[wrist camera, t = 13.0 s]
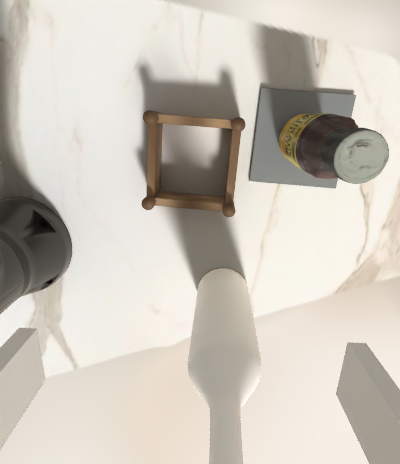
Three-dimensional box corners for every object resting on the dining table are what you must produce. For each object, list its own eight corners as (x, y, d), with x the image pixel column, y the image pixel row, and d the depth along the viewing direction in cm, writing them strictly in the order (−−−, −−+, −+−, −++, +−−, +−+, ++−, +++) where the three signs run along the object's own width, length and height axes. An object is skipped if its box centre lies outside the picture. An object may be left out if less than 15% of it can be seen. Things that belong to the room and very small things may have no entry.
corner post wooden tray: (151, 199, 46) (141, 209, 40) (153, 112, 42) (143, 109, 37) (232, 206, 46) (234, 217, 40) (242, 119, 42) (246, 117, 36)
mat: (249, 180, 44) (249, 180, 44) (260, 88, 40) (261, 87, 40) (334, 187, 44) (335, 188, 43) (354, 95, 40) (355, 95, 40)
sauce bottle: (292, 105, 40) (355, 86, 22) (333, 128, 41) (430, 128, 22) (266, 152, 42) (304, 171, 24) (306, 173, 43) (373, 208, 24)
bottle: (198, 266, 49) (169, 455, 21) (249, 268, 49) (292, 465, 20) (197, 310, 52) (169, 533, 23) (246, 313, 51) (279, 543, 23)
